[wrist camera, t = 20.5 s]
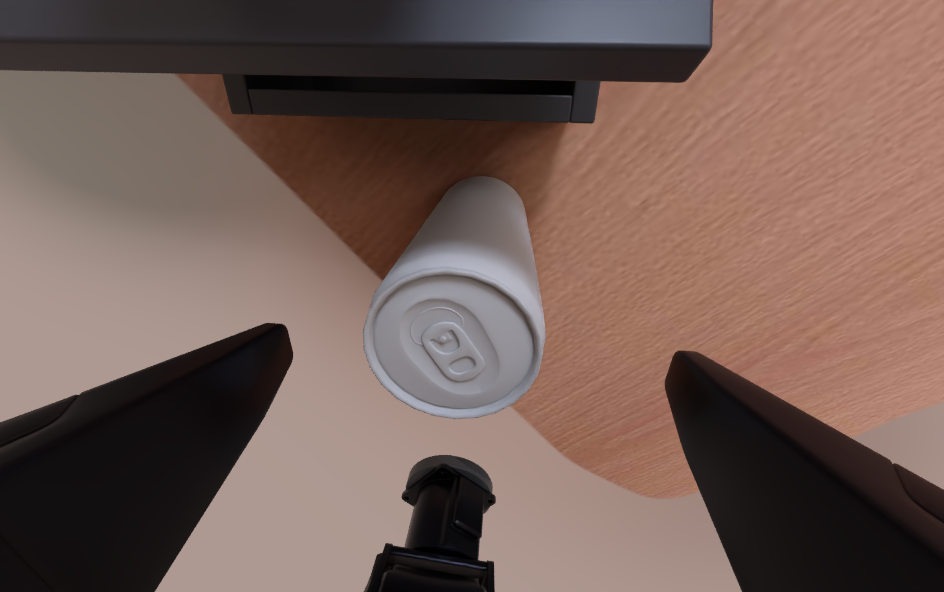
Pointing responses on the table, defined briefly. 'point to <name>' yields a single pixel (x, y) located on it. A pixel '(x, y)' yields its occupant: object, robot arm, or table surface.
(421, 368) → the beverage can
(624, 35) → the lid
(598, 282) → the table surface
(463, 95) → the dark grey box
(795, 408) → the robot arm
